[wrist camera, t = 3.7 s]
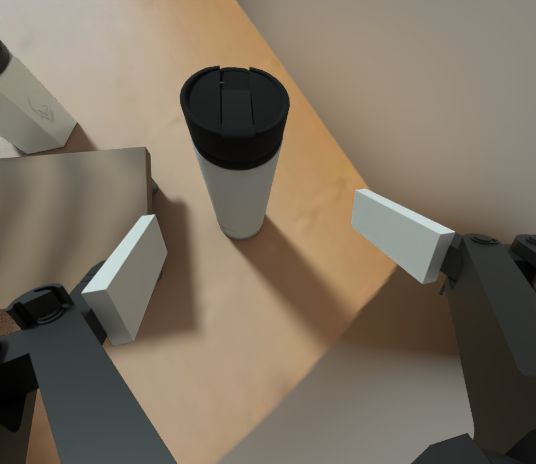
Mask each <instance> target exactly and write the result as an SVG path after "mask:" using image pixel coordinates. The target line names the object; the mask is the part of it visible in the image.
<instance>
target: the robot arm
mask: <svg viewBox="0 0 536 464" xmlns="http://www.w3.org/2000/svg"><path fill="white" fill-rule="evenodd" d="M351 226H352V227H353V228H354V229H355V230H357V231H358V232H359V233H360V234H361V235H363V236H364V237H365V238H366V239H368V240H369V241H370V242H371V243H373V244H374V245H375V246H376V247H377V248H379V249H380V250H381V251H382V252H384V253H385V254H386V255H387V256H389V257H390V258H391V259H392V260H393V261H395V262H396V263H397V264H398V265H400V266H401V267H402V268H403V269H405V270H406V271H407V272H408V273H409V274H411V275H412V276H413V277H414V278H416V279H417V280H418V281H420V282H421V283H422V284H425V283H429V282H435V281H436V280H437V277H438V275H439V272H440V271H441V272H443V273H444V274H446V278H445V280H444V283H443V285H442V288H441V290H440V293H439V294H440V295H442V293H443V292H445V291H446V296H447V298H448V303H449V308H450V313H451V317H452V322H453V327H454V332H455V336H456V341H457V346H458V351H459V355H460V360H461V365H462V369H463V374H464V379H465V384H466V388H467V393H468V398H469V403H470V408H471V412H472V417H473V422H474V438H473V440H472V438H471V437H470V436H469V435H468V433H466V434H463V435H460V436H457V437H454V438H451V439H448V440H445V441H442V442H438V443H435V444H433V445H430V446H429V447H428V448H427V449H426V450H425V451H424V452H423V453H422V454H421V455H420V456H419V457H418V458H417V459H416V460H414V462H412V463H411V464H536V235H526V234H525V235H524V234H523V235H517V236H516V238H515V239H514V241H513V243H512V244H509V245H508V244H501V243H500V242H499V241H498V240H496V239H494V238H491V237H488V236H485V235H480V234H465V235H463V236H462V235H460V234H458V233H456V232H455V231H453V230H450V229H448V228H446V227H444V226H442V225H440V224H438V223H436V222H434V221H432V220H430V219H428V218H425V217H423V216H421V215H419V214H417V213H415V212H413V211H411V210H409V209H407V208H405V207H402V206H400V205H398V204H396V203H394V202H392V201H390V200H388V199H386V198H383V197H381V196H379V195H377V194H375V193H373V192H371V191H369V190H367V189H361V190H356V191H355V199H354V206H353V213H352V220H351ZM167 253H168V252H167V249H166V246H165V243H164V240H163V237H162V234H161V231H160V228H159V224H158V221H157V218H156V215H155V214H154V215H146V216H141V218H140V219H139V220H138V221H137V223H136V224H135V225H134V226H133V228H132V229H131V230H130V232H129V233H128V234H127V235H126V237H125V238H124V239H123V240H122V242H121V243H120V244H119V246H118V247H117V248H116V249H115V251H114V252H113V253H112V254H111V256H110V257H109V258H108V260H103V261H101V262H99V263H98V264H96V265H95V266H93V267H92V268H91V269H90V270H89V271H88V273H87V274H86V275H85V277H83V278H82V280H81V281H80V283H78V284H77V285H76V287H75V288H74V289H73V290H72V291H71V293H70V294H68V293H67V291H66V289H65V288H64V286H63V285H61V284H48V285H43V286H40V287H38V288H35V289H32V290H30V291H28V292H26V293H24V294H22V295H21V296H19V297H18V298H16V299H15V300H14V301H13V302H12V303H11V304H10V305H9V306H8V308H7V311H6V312H7V313H8V314H9V315H10V316H11V317H12V318H13V320H14V321H15V322H16V323H17V324H18V325H19V327H20V328H21V329H22V330H19V331H17V332H14V333H11V334H8V335H5V336H3V337H0V464H25V461H26V455H27V449H28V443H29V437H30V430H31V424H32V418H33V412H34V406H35V400H36V393H37V389H38V388H40V392H41V395H42V399H43V402H44V406H45V409H46V413H47V416H48V420H49V423H50V426H51V430H52V433H53V437H54V440H55V444H56V447H57V451H58V454H59V458H60V461H61V464H177V462H176V461H175V459H174V458H173V456H172V454H171V453H170V451H169V450H168V448H167V447H166V445H165V444H164V442H163V440H162V439H161V437H160V436H159V434H158V433H157V431H156V429H155V428H154V426H153V425H152V423H151V422H150V420H149V419H148V417H147V415H146V414H145V412H144V411H143V409H142V408H141V406H140V405H139V403H138V401H137V400H136V398H135V397H134V395H133V394H132V392H131V390H130V389H129V387H128V386H127V384H126V383H125V381H124V380H123V378H122V376H121V375H120V373H119V372H118V370H117V369H116V367H115V365H114V364H113V362H112V361H111V359H110V358H109V356H108V355H107V353H106V351H105V350H104V348H103V347H102V345H103V343H104V341H105V339H106V337H108V339H109V340H110V342H111V344H112V345H113V346H115V345H120V344H125V343H130V342H134V340H135V337H136V335H137V332H138V329H139V327H140V324H141V322H142V319H143V316H144V314H145V311H146V308H147V306H148V303H149V300H150V298H151V295H152V293H153V290H154V287H155V285H156V282H157V279H158V277H159V274H160V271H161V269H162V266H163V264H164V261H165V258H166V256H167Z"/></svg>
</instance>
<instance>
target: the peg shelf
mask: <svg viewBox="0 0 536 464" xmlns="http://www.w3.org/2000/svg"><path fill="white" fill-rule="evenodd" d="M157 190H158V186H157V184H156V183H155V181H154V180H153V179H152V177H151V157H150V153H149V152H148V150H147V149H146V147H137V148H124V149H112V150H100V151H87V152H75V153H63V154H50V155H38V156H26V157H14V158H1V159H0V311H5V310H7V308H8V306H9V305H10V304H11V303H12V302H13V301H14V300H15V299H16V298H18V297H19V296H21V295H22V294H24V293H26V292H28V291H30V290H32V289H35V288H38V287H40V286H43V285H48V284H61V285H63V286H64V288H65V289H66V291H67V293H68V294H70V293H71V291H72V290H73V289H74V288H75V287H76V285H77V284H78V283H80V281H81V280H82V278H83V277H85V275H86V274H87V273H88V271H89V270H90V269H91V268H92V267H93V266H95V265H96V264H98V263H99V262H101V261H103V260H108V258H109V257H110V256H111V254H112V253H113V252H114V251H115V249H116V248H117V247H118V246H119V244H120V243H121V242H122V240H123V239H124V238H125V237H126V235H127V234H128V233H129V232H130V230H131V229H132V228H133V226H134V225H135V224H136V223H137V221H138V220H139V219H140V218H141V216H146V215H153V207H152V195H154V194H155V193H156V192H157ZM161 276H162V270H161V271H160V274H159V277H158V279H157V281H158V280H159V279H160V278H161Z"/></svg>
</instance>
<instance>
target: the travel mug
mask: <svg viewBox="0 0 536 464" xmlns="http://www.w3.org/2000/svg"><path fill="white" fill-rule="evenodd" d="M180 104H181V107H182V110H183V113H184V116H185V119H186V123H187V126H188V128H189V131H190V135H191V141H192V144H193V147H194V150H195V153H196V156H197V159H198V162H199V165H200V168H201V171H202V174H203V177H204V180H205V183H206V186H207V189H208V192H209V195H210V198H211V201H212V204H213V208H214V211H215V214H216V217H217V220H218V223H219V226H220V228H221V230H222V231H223V232H224V233H225V234H226V235H227V236H229V237H231V238H233V239H237V240H244V239H248V238H251V237H253V236H254V235H256V234H257V233H258V232H259V230H260V229H261V227H262V224H263V220H264V216H265V212H266V208H267V203H268V199H269V195H270V191H271V187H272V182H273V178H274V174H275V170H276V166H277V161H278V157H279V153H280V149H281V145H282V140H283V132H284V128H285V124H286V120H287V115H288V111H289V107H290V102H289V96H288V93H287V91H286V89H285V88H284V86H283V85H282V84H281V83H280V82H279V81H278V80H277V79H276V78H275V77H273V76H272V75H270V74H269V73H267V72H265V71H263V70H260V69H256V68H252V67H250V70H247V69H245V68H236V67H226V68H222V69H220V66H214V67H208V68H205V69H203V70H200V71H198V72H197V73H195V74H194V75H192V76H191V77H190V78H189V79H188V80H187V81H186V82H185V84H184V85H183V87H182V89H181V93H180Z"/></svg>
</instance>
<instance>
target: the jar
mask: <svg viewBox="0 0 536 464" xmlns="http://www.w3.org/2000/svg"><path fill="white" fill-rule="evenodd" d="M76 124H77V121H76V120H75V119H74V118H73V117H72V116H71V114H70V113H69V112H68V111H67V110H66V109H65V108H64V107H63V106H62V105H61V104H60V103H59V102H58V100H57V99H56V98H55V97H54V96H53V95H52V94H51V93H50V92H49V91H48V90H47V89H46V88H45V87H44V85H43V84H42V83H41V82H40V81H39V80H38V79H37V78H36V77H35V76H34V75H33V74H32V73H31V72H30V70H29V69H28V68H27V67H26V66H25V65H24V64H23V63H22V62H21V61H20V60H19V59H18V58H17V57H16V56H15V55H14V54H13V53H12V52H10V51H9V50H8V49H7V47H6V46H5V45H4V44H3V43H2V41H1V40H0V136H1V137H3V138H4V139H6V140H7V141H9V142H10V143H11V144H13V145H14V146H16V147H17V148H19V149H20V150H22V151H23V152H25V153H26V154H31V153H36V152H41V151H46V150H50V149H55V148H60V147H64V145H65V144H66V142H67V140H68V138H69V136H70V135H71V133H72V131H73V129H74V127H75V125H76Z"/></svg>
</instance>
